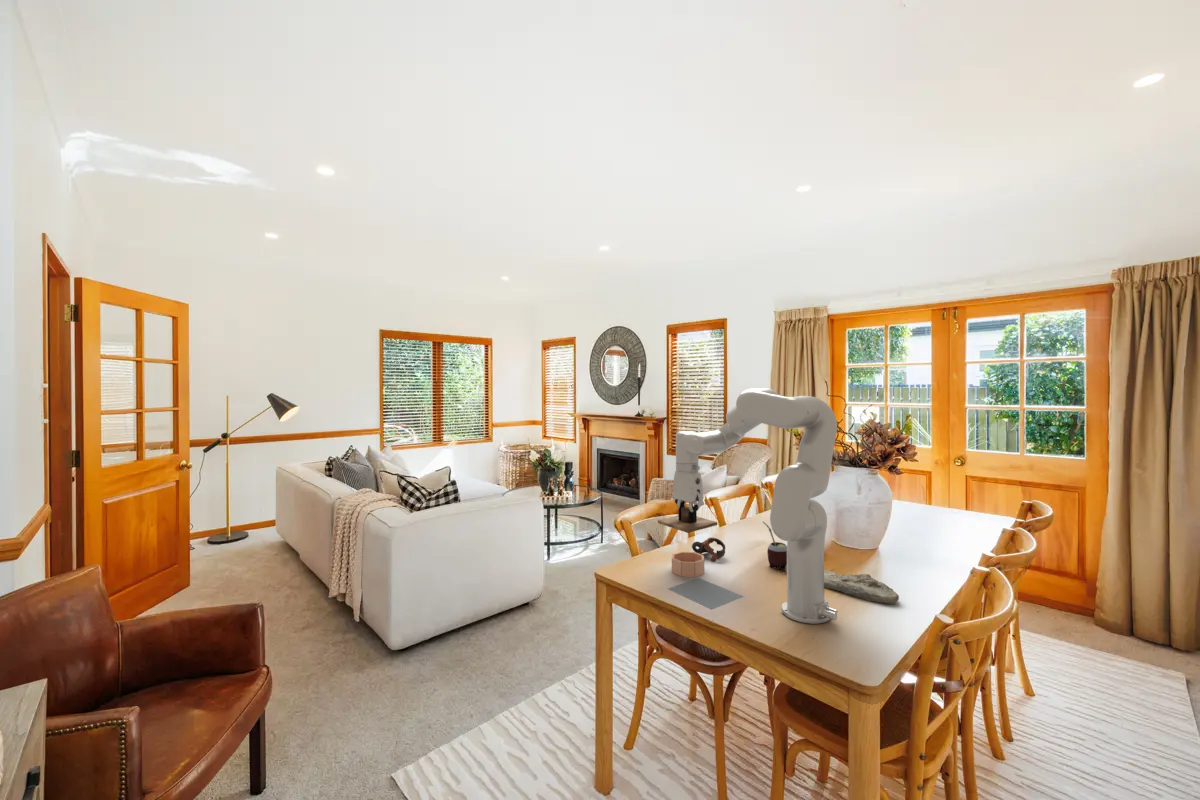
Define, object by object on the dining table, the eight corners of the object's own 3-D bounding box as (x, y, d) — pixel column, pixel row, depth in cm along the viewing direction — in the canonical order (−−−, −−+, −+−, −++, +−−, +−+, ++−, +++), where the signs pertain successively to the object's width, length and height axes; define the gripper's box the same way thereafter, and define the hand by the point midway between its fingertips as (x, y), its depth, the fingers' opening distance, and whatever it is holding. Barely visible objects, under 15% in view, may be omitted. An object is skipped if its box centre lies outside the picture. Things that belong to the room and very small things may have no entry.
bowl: (710, 572, 168) (710, 557, 168) (688, 580, 162) (687, 565, 162) (687, 563, 177) (687, 549, 177) (665, 570, 171) (665, 556, 170)
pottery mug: (717, 553, 189) (725, 537, 185) (721, 572, 180) (729, 556, 176) (687, 546, 188) (694, 530, 184) (690, 565, 179) (697, 549, 176)
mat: (743, 597, 148) (743, 596, 148) (711, 610, 140) (711, 609, 140) (699, 579, 162) (699, 577, 162) (667, 590, 154) (667, 588, 154)
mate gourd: (791, 571, 168) (791, 527, 167) (767, 570, 168) (767, 527, 168) (785, 563, 175) (785, 521, 175) (762, 563, 176) (762, 521, 176)
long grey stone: (795, 571, 172) (778, 579, 166) (793, 556, 172) (777, 564, 166) (905, 598, 144) (890, 610, 138) (904, 580, 144) (889, 591, 138)
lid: (717, 525, 166) (717, 509, 166) (687, 532, 158) (687, 516, 158) (686, 516, 178) (686, 501, 178) (658, 523, 170) (657, 507, 169)
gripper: (713, 469, 163) (714, 524, 163) (677, 463, 176) (677, 514, 177) (697, 472, 158) (698, 529, 159) (661, 465, 172) (662, 517, 173)
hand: (687, 520), depth 168 cm, fingers closed on lid, 4 cm apart
